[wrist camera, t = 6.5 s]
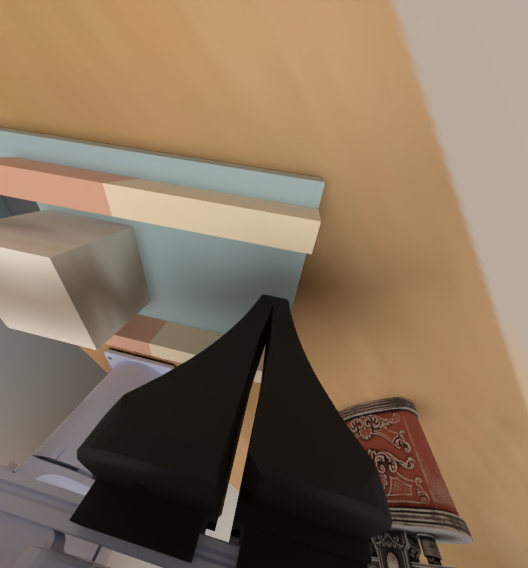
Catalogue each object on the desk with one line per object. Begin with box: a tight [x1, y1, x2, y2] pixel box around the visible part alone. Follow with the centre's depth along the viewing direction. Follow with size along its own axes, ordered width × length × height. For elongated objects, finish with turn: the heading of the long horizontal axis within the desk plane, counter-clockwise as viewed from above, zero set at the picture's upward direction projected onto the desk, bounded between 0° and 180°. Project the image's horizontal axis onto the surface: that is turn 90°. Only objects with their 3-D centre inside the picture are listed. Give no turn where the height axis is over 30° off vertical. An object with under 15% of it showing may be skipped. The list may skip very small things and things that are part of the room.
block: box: [0, 210, 151, 350], centre depth 10 cm, size 5×5×4 cm
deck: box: [0, 127, 325, 383], centre depth 12 cm, size 12×22×4 cm, turn 83°
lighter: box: [339, 397, 473, 568], centre depth 15 cm, size 8×3×10 cm, turn 137°
